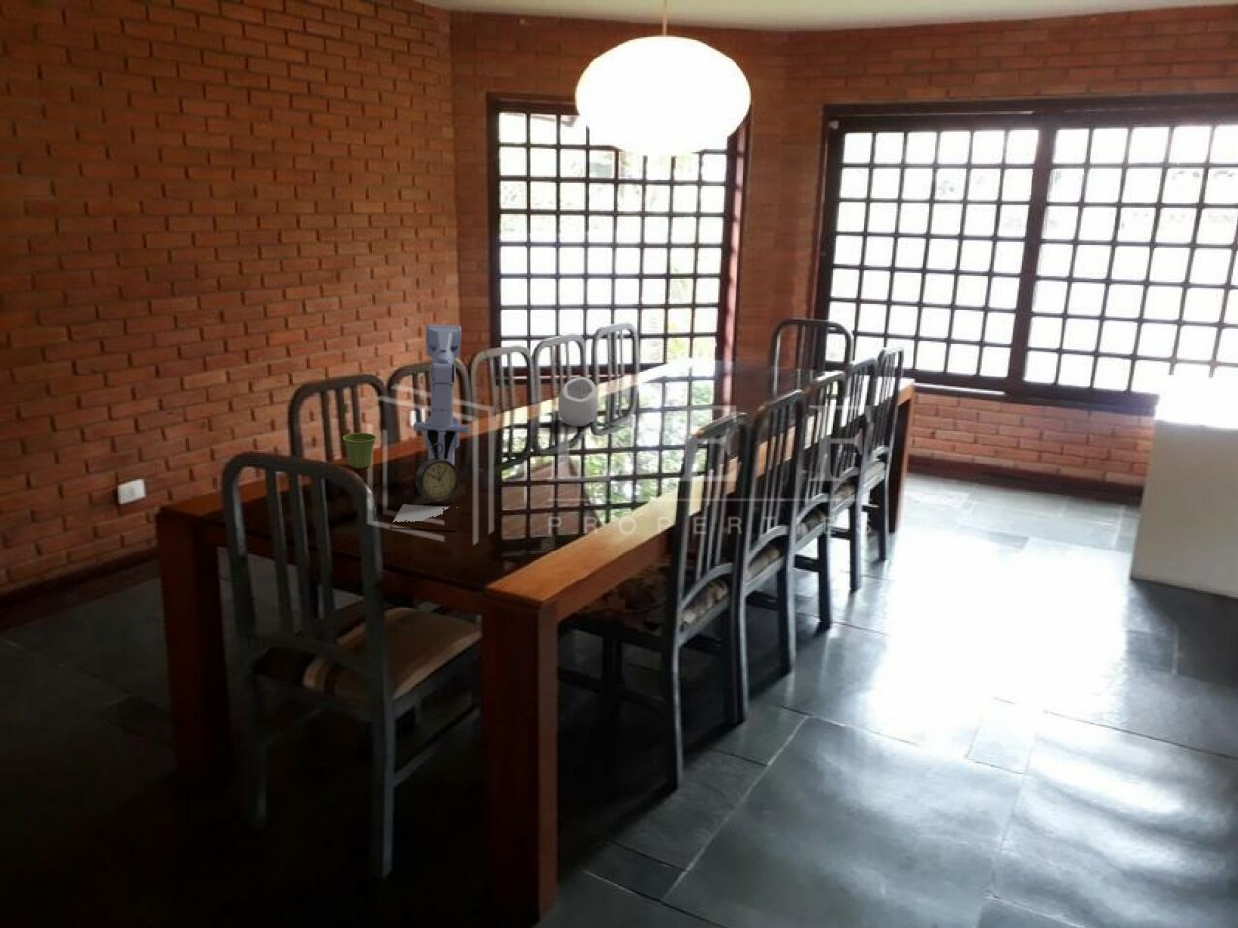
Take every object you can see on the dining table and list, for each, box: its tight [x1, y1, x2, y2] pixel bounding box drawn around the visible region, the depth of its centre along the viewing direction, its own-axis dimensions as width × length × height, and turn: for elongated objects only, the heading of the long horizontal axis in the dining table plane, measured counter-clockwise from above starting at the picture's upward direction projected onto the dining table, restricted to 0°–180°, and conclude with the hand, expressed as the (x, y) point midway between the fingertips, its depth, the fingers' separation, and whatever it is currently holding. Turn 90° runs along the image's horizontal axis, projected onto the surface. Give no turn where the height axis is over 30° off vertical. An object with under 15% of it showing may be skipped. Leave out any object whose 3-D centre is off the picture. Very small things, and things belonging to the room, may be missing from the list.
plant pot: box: [342, 432, 377, 469], centre depth 275 cm, size 9×9×9 cm
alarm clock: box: [414, 443, 460, 506], centre depth 248 cm, size 11×5×16 cm, turn 126°
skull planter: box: [557, 376, 599, 429], centre depth 340 cm, size 14×20×19 cm
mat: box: [392, 503, 457, 523], centre depth 239 cm, size 16×16×1 cm
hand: (441, 458), depth 253 cm, fingers closed
